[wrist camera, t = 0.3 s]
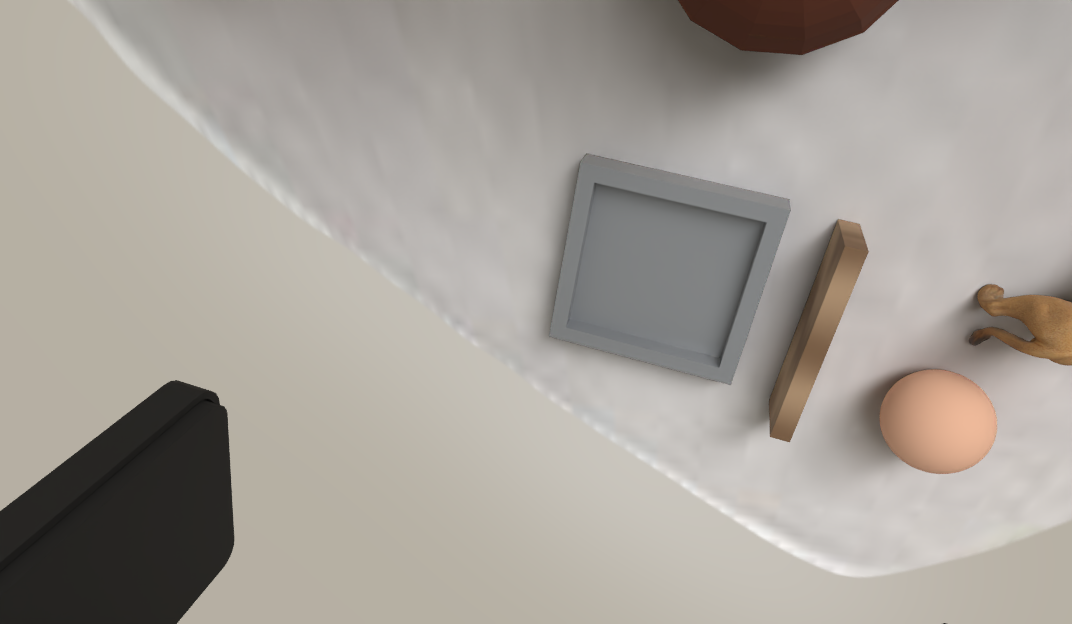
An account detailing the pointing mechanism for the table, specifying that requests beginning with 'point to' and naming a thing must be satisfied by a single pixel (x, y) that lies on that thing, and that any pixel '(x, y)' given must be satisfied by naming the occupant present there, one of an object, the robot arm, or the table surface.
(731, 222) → the slate dish
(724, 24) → the muffin
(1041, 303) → the lion figurine
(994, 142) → the table surface
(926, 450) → the ball
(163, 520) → the robot arm
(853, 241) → the walnut wall
